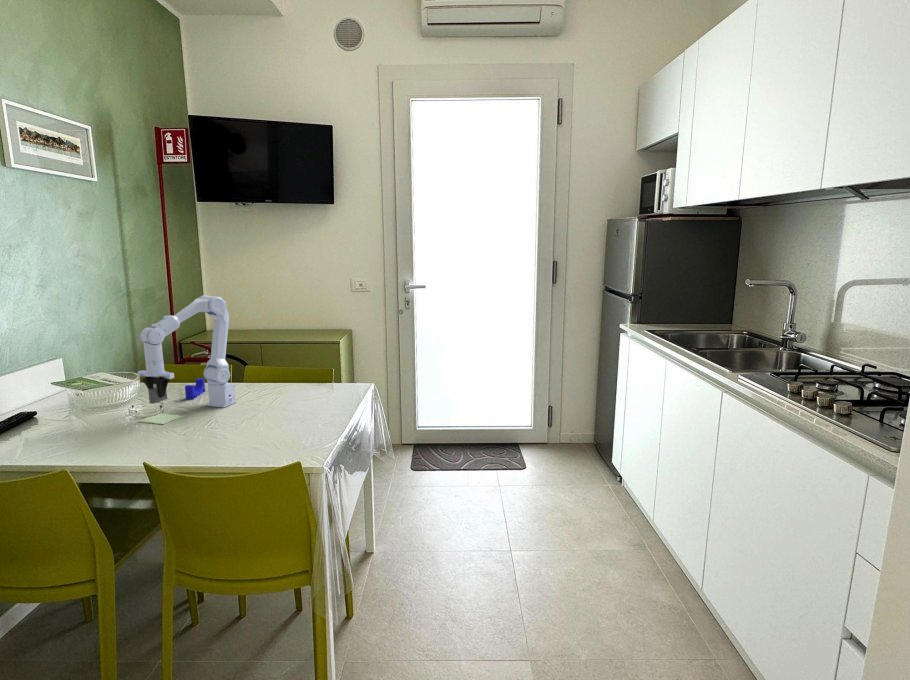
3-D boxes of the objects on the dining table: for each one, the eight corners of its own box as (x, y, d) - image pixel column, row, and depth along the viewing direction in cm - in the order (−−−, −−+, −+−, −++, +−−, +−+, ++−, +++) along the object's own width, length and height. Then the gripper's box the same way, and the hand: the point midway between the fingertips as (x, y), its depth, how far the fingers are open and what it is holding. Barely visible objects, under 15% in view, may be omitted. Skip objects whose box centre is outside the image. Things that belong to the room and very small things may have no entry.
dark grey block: (169, 398, 200) (167, 381, 199) (154, 403, 193) (152, 386, 192) (162, 397, 201) (161, 381, 200) (147, 403, 194) (145, 386, 193)
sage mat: (181, 416, 201) (181, 415, 201) (163, 424, 193) (163, 423, 193) (158, 414, 204) (157, 413, 204) (138, 421, 196) (138, 420, 196)
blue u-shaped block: (194, 391, 235) (193, 378, 234) (205, 391, 235) (204, 378, 234) (182, 399, 223) (181, 386, 222) (193, 399, 224) (192, 386, 222)
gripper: (129, 361, 192) (133, 397, 195) (162, 364, 189) (165, 401, 191) (145, 357, 199) (148, 392, 202) (177, 359, 195) (180, 395, 198)
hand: (158, 396), depth 197 cm, fingers closed on dark grey block, 3 cm apart
